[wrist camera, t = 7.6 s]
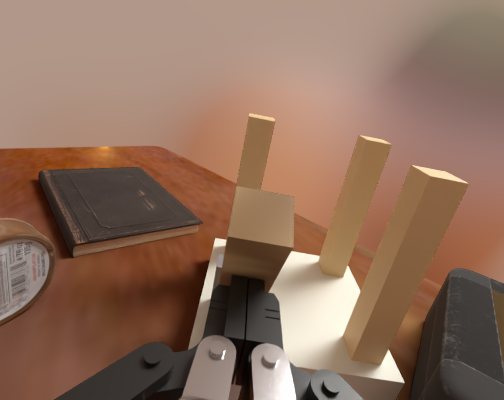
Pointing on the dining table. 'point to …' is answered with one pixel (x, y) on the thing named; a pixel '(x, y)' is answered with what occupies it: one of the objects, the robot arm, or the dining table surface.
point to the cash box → (463, 341)
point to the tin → (23, 266)
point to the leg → (258, 236)
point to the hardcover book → (113, 208)
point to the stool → (339, 275)
